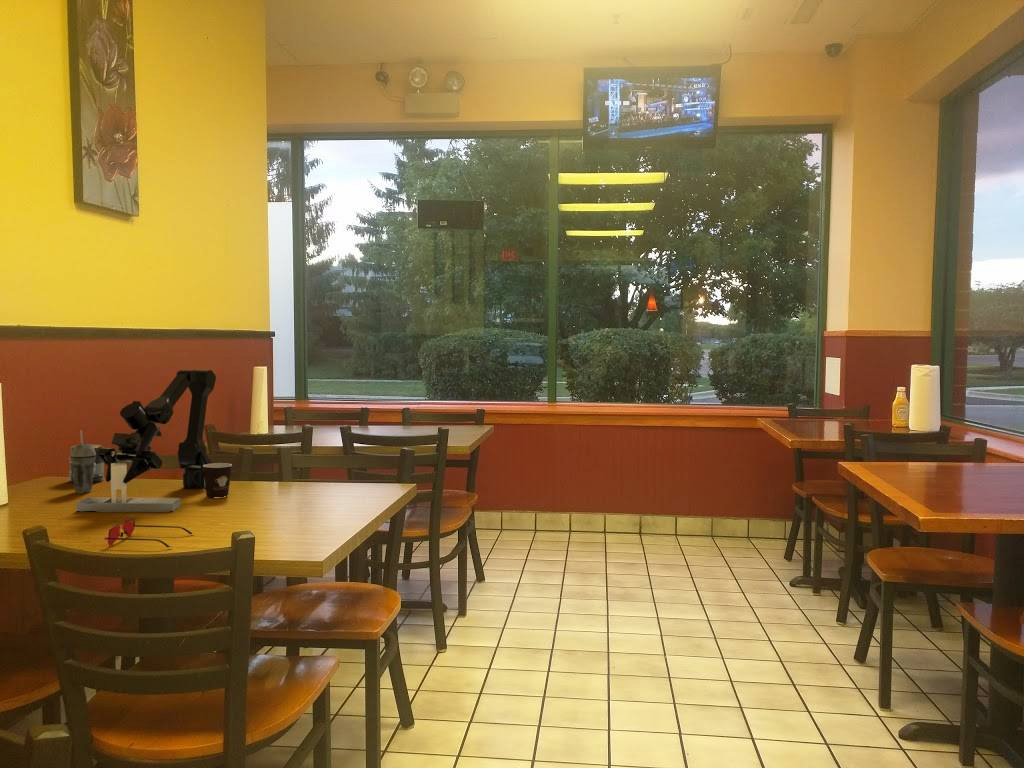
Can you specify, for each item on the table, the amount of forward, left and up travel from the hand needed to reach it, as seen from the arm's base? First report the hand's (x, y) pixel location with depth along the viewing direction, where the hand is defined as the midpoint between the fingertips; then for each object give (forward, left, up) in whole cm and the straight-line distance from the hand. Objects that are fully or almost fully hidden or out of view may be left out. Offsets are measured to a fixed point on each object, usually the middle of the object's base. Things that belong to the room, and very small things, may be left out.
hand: (115, 481), depth 229 cm
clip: (-1, -1, -7) cm, 7 cm away
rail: (-4, -1, -8) cm, 9 cm away
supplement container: (+24, -45, -8) cm, 52 cm away
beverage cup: (+18, -26, -8) cm, 33 cm away
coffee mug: (-23, -19, -8) cm, 31 cm away
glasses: (-20, +36, -9) cm, 42 cm away
